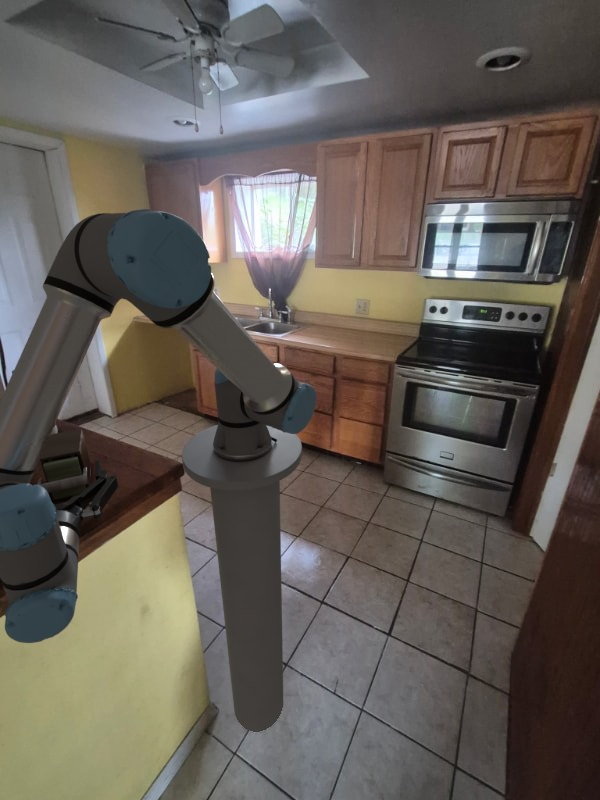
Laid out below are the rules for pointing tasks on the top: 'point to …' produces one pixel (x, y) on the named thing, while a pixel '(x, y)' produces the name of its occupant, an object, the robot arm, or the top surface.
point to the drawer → (64, 477)
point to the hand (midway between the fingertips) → (63, 473)
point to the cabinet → (67, 450)
